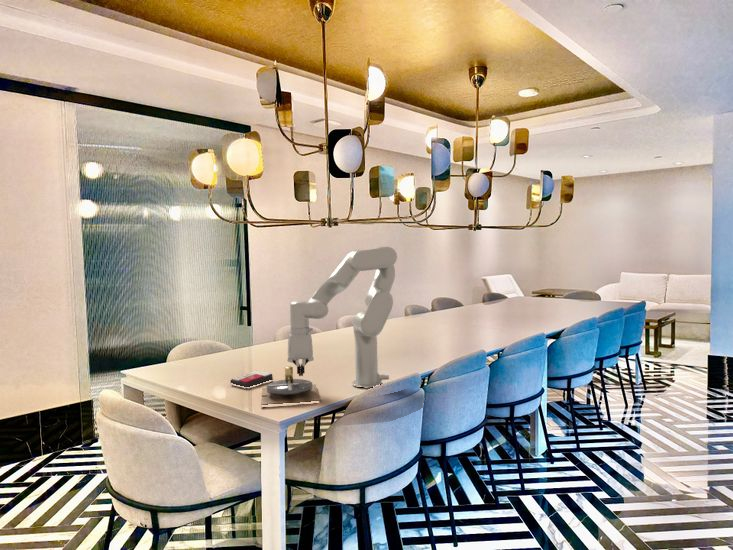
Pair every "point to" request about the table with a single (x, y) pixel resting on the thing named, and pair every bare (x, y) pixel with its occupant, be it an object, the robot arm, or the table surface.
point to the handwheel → (289, 385)
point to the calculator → (252, 378)
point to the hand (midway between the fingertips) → (300, 375)
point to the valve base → (289, 397)
